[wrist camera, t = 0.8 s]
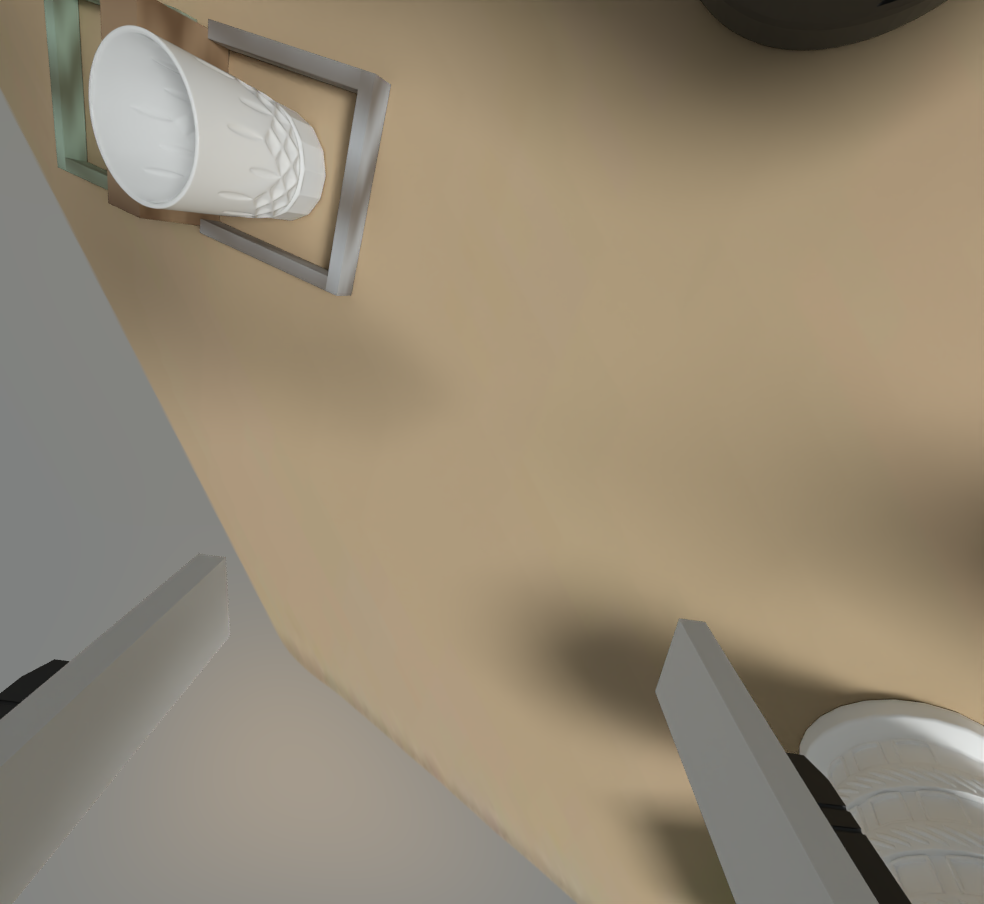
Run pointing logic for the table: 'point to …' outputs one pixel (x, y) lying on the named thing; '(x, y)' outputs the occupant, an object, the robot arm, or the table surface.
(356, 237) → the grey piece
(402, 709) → the table surface
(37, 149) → the table surface
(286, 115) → the white cup
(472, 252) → the table surface
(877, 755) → the decorative container
